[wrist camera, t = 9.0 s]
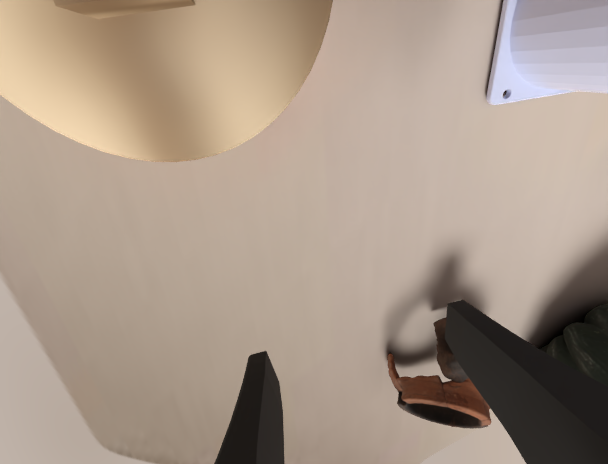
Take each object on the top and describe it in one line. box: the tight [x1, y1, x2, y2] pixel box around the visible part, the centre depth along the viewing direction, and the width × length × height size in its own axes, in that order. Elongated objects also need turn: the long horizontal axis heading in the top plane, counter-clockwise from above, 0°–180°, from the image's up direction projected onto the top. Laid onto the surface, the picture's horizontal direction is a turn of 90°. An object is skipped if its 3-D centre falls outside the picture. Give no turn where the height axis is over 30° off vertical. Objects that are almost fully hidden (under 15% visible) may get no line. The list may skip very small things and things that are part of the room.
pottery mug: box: [387, 317, 491, 428], centre depth 26 cm, size 12×10×8 cm
